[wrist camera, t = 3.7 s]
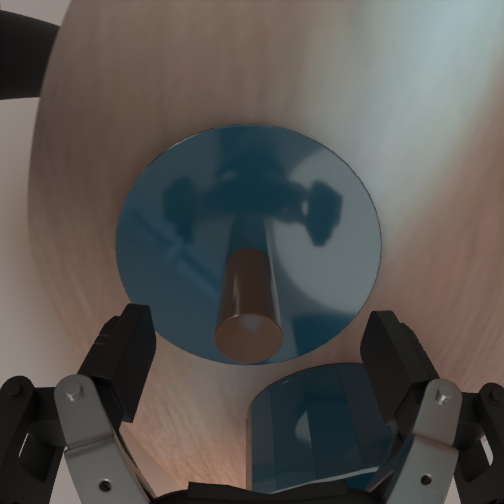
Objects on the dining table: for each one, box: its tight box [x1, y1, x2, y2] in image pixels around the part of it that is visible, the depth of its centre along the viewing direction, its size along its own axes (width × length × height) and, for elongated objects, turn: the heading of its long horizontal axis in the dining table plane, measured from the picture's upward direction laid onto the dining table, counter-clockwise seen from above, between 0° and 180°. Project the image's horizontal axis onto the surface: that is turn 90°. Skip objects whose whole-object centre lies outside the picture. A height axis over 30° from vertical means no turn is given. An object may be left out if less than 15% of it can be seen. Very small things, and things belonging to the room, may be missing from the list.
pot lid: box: [115, 124, 381, 365], centre depth 13 cm, size 14×14×6 cm
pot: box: [246, 363, 398, 494], centre depth 18 cm, size 13×13×8 cm
